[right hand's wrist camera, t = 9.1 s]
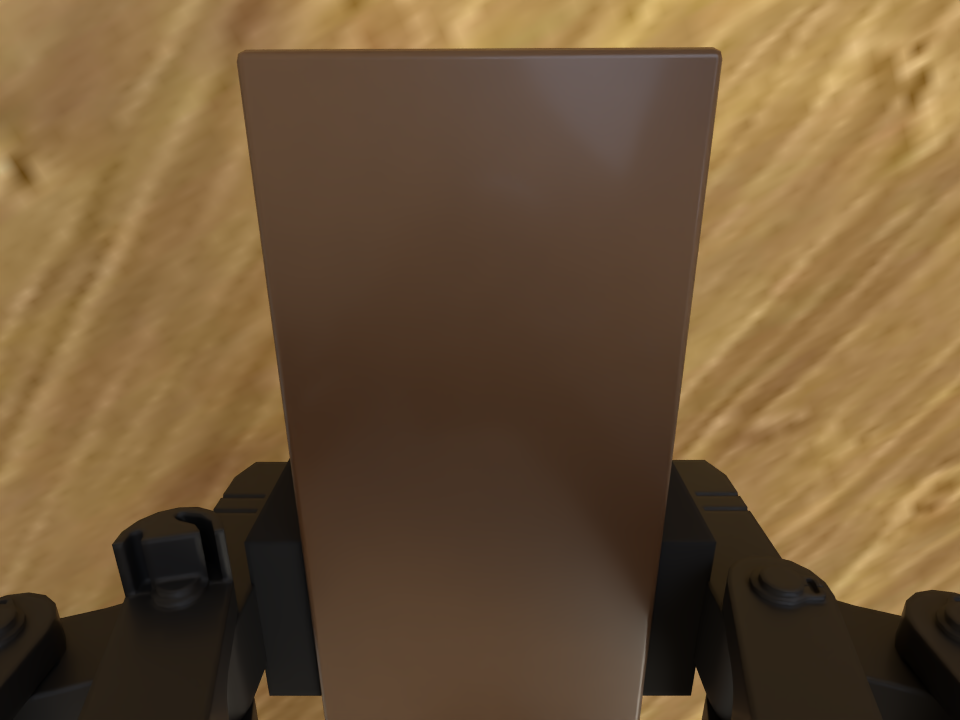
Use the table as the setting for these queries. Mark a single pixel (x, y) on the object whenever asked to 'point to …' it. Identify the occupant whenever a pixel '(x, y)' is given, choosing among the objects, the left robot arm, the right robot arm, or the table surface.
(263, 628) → the right robot arm
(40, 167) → the table surface
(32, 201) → the table surface
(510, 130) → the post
